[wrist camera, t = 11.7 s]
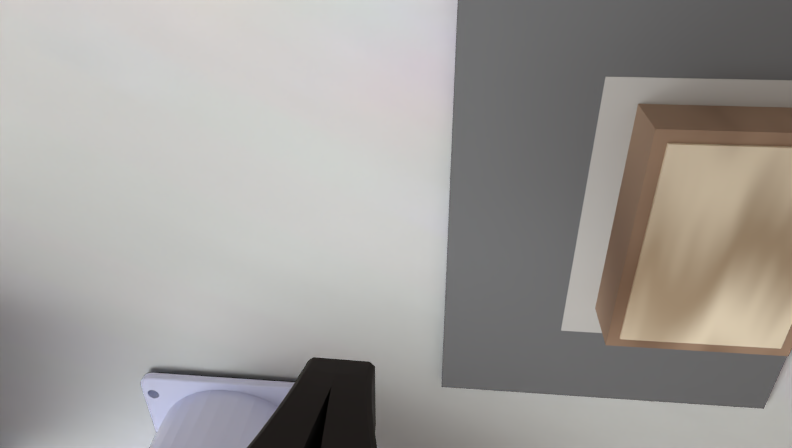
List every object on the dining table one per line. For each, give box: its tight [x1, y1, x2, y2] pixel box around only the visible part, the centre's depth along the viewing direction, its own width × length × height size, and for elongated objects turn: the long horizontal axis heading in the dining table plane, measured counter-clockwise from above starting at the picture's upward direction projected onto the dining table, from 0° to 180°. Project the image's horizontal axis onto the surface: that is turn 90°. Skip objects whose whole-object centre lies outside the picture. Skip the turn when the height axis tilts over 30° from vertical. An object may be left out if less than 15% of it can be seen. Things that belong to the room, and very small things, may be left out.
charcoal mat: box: [442, 0, 792, 409], centre depth 21 cm, size 16×13×1 cm
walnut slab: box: [595, 104, 792, 356], centre depth 19 cm, size 8×2×6 cm
